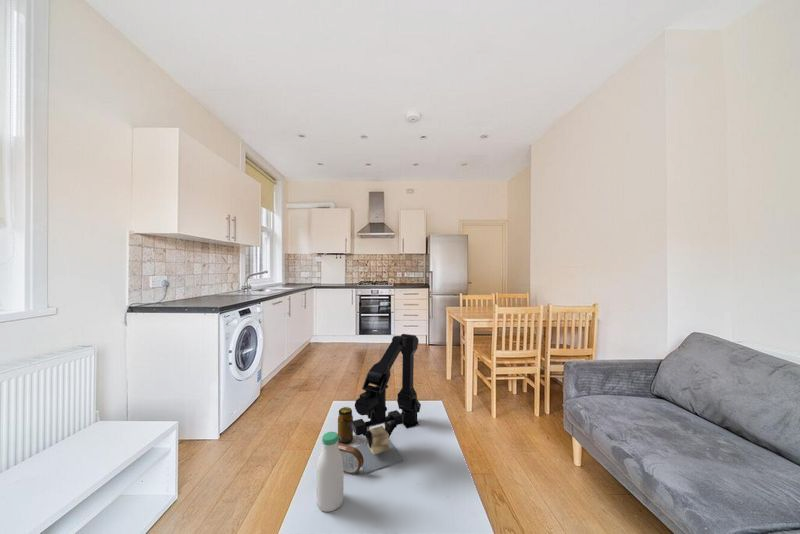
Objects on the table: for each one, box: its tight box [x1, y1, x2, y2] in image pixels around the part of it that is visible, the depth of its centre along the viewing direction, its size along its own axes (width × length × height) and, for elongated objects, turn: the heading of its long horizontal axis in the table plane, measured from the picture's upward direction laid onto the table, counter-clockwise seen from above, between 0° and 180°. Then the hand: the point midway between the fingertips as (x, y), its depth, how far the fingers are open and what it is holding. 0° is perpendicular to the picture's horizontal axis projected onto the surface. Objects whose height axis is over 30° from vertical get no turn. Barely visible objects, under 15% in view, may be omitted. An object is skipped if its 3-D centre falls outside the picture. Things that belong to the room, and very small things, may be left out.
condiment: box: [337, 406, 360, 446], centre depth 119 cm, size 7×8×12 cm
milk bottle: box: [316, 431, 344, 513], centre depth 88 cm, size 8×8×20 cm
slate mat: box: [354, 439, 406, 475], centre depth 110 cm, size 15×15×1 cm
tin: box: [337, 443, 364, 475], centre depth 102 cm, size 15×3×8 cm, turn 71°
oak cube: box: [368, 425, 390, 455], centre depth 110 cm, size 6×6×6 cm
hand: (377, 444), depth 110 cm, fingers closed on oak cube, 6 cm apart
